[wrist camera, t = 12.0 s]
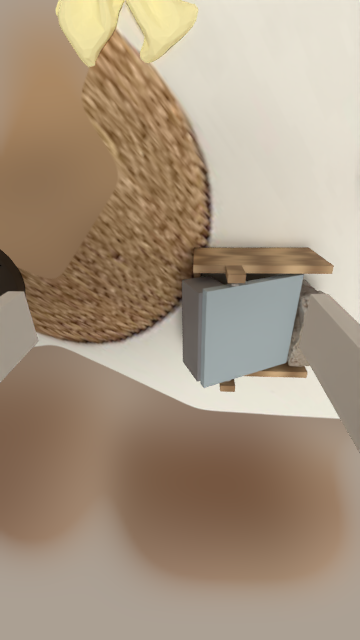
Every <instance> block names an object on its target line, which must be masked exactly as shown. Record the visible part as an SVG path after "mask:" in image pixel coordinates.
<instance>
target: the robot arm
mask: <svg viewBox="0 0 360 640" xmlns="http://www.w3.org/2000/svg"><path fill="white" fill-rule="evenodd" d="M37 342H38V338H37V334H36V331H35V327H34V324H33V321H32V317H31V314H30V310H29V307H28V304H27V300H26V297H25V287H24V282H23V279H22V277H21V274H20V272H19V270H18V269H17V267H16V265H15V264H14V263H13V261H12V260H11V259H10V258H9V257H8V256H7V255H6V254H5V253H4V252H3V251H1V250H0V382H1V381H2V380H3V379H4V378H5V377H6V376H7V375H8V374H9V373H10V371H11V370H12V369H13V368H14V367H15V366H16V365H17V364H18V363H19V362H20V361H21V360H22V359H23V357H24V356H25V355H26V354H27V353H28V352H29V351H30V350H31V349H32V348H33V347H34V346H35V345H36V343H37ZM299 347H300V349H301V350H302V352H303V354H304V356H305V357H306V359H307V361H308V363H309V364H310V366H311V368H312V370H313V371H314V373H315V375H316V377H317V379H318V380H319V382H320V384H321V386H322V387H323V389H324V391H325V393H326V394H327V396H328V398H329V400H330V402H331V403H332V405H333V407H334V409H335V410H336V412H337V414H338V416H339V417H340V419H341V421H342V422H343V424H344V426H345V428H346V429H347V431H348V433H349V435H350V437H351V439H352V440H353V442H354V444H355V446H356V447H357V449H358V451H359V453H360V324H359V323H358V322H357V321H356V320H355V319H354V318H353V317H352V316H351V315H349V314H348V313H347V312H346V311H345V310H344V309H343V308H342V307H341V306H340V305H339V304H338V303H337V302H336V301H335V300H334V299H333V298H332V297H331V296H330V295H329V294H310V299H309V304H308V308H307V313H306V317H305V322H304V327H303V331H302V336H301V341H300V345H299Z"/></svg>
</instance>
